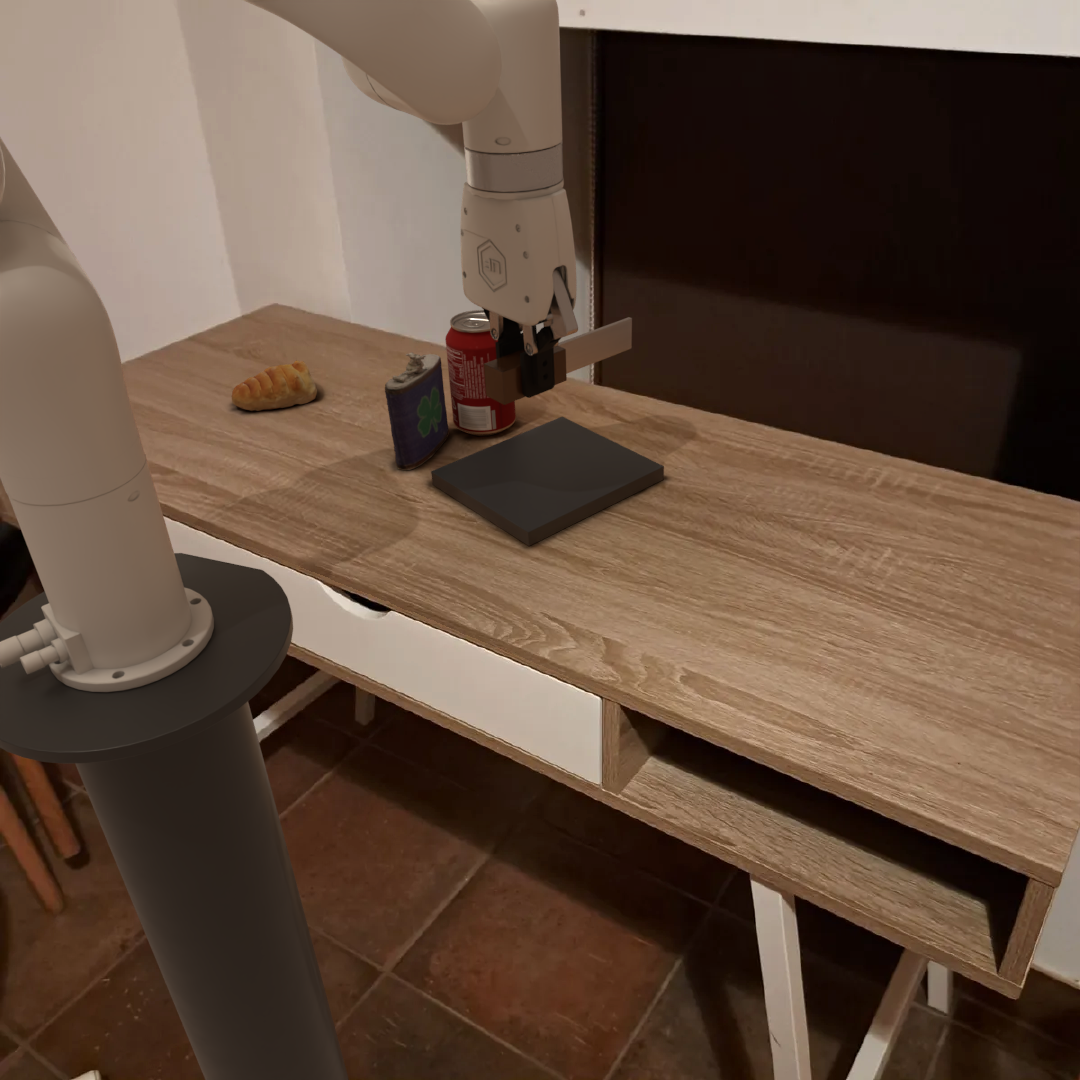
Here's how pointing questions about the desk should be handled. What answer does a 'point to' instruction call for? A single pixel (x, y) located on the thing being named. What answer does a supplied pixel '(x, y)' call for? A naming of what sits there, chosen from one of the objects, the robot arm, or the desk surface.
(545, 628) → the desk surface
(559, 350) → the knife
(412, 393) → the flask
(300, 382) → the pastry
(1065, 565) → the desk surface
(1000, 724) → the desk surface
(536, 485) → the board
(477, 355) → the soda can
